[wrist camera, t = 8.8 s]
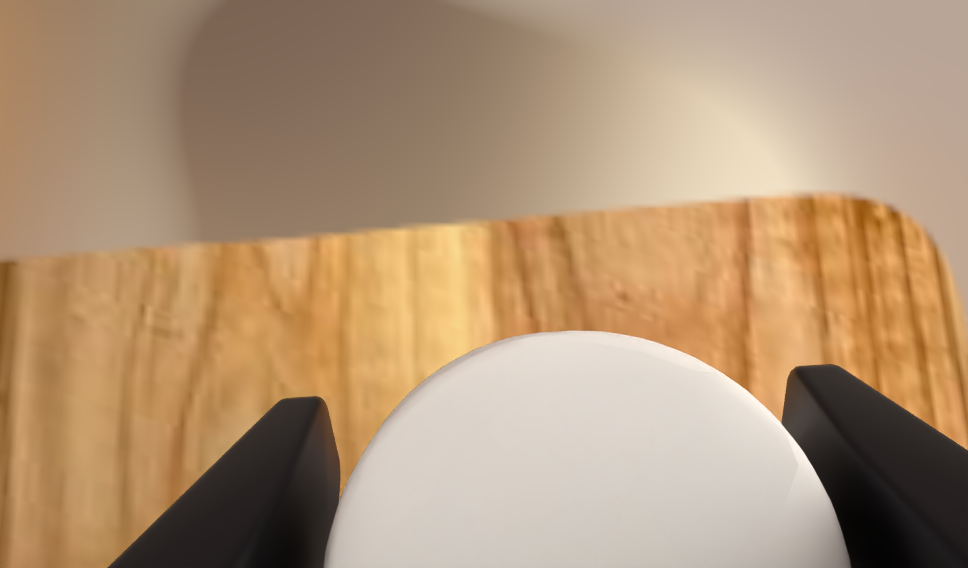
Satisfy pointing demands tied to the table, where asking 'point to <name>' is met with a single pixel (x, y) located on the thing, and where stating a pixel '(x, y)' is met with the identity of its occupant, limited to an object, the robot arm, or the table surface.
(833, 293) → the table surface
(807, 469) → the pill bottle
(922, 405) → the table surface
